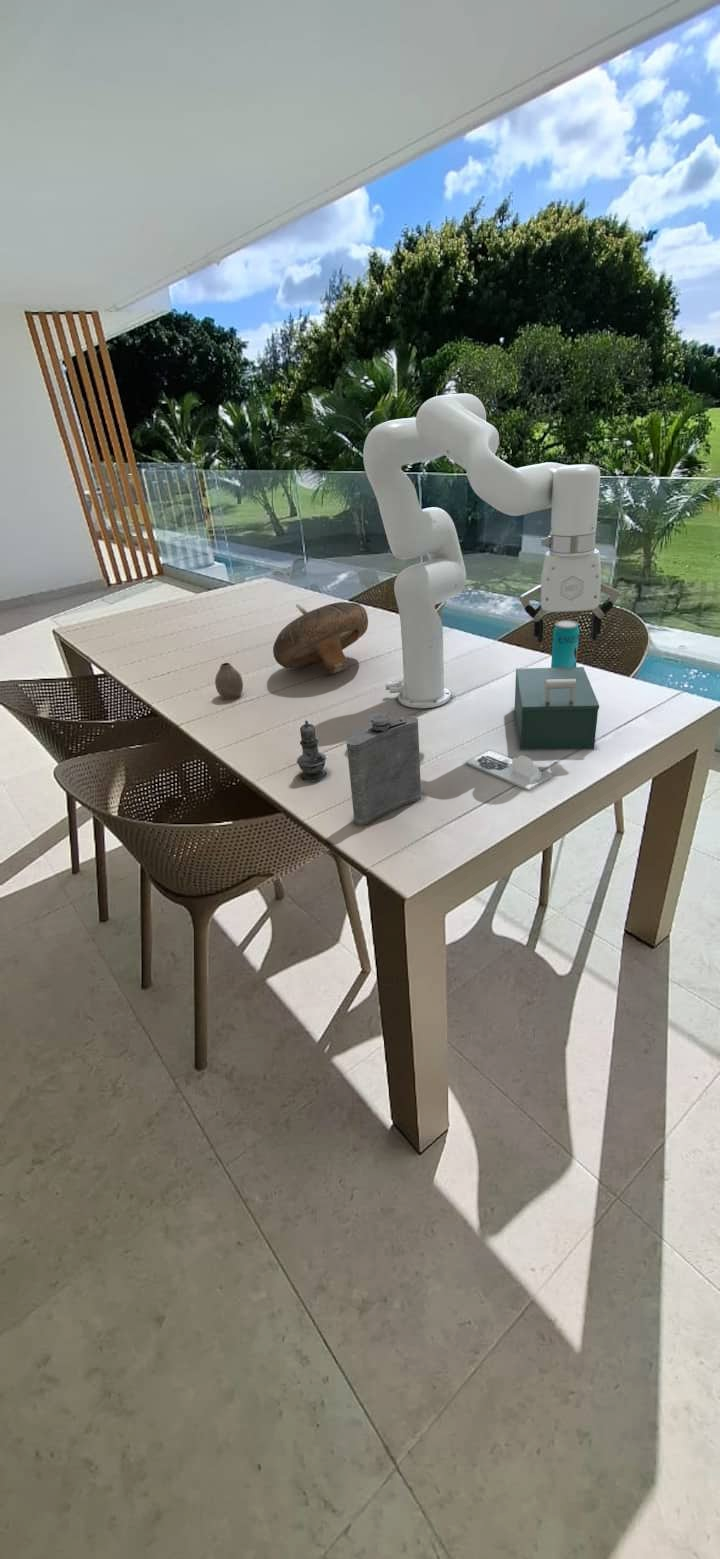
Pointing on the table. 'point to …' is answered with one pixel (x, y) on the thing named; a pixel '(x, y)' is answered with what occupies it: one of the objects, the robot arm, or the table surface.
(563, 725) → the green lidded box
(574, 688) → the box lid
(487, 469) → the robot arm
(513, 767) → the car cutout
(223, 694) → the vase
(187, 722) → the table surface
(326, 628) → the mushroom
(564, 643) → the beverage can
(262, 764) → the table surface
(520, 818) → the table surface
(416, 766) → the flask
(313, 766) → the salt shaker
